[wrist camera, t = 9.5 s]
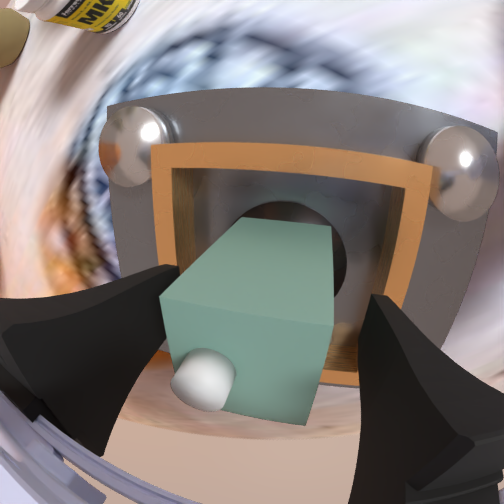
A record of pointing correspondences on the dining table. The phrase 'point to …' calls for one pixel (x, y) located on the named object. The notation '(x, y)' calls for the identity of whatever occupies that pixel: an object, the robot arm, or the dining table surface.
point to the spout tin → (253, 321)
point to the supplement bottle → (81, 12)
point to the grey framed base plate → (309, 193)
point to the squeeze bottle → (11, 35)
